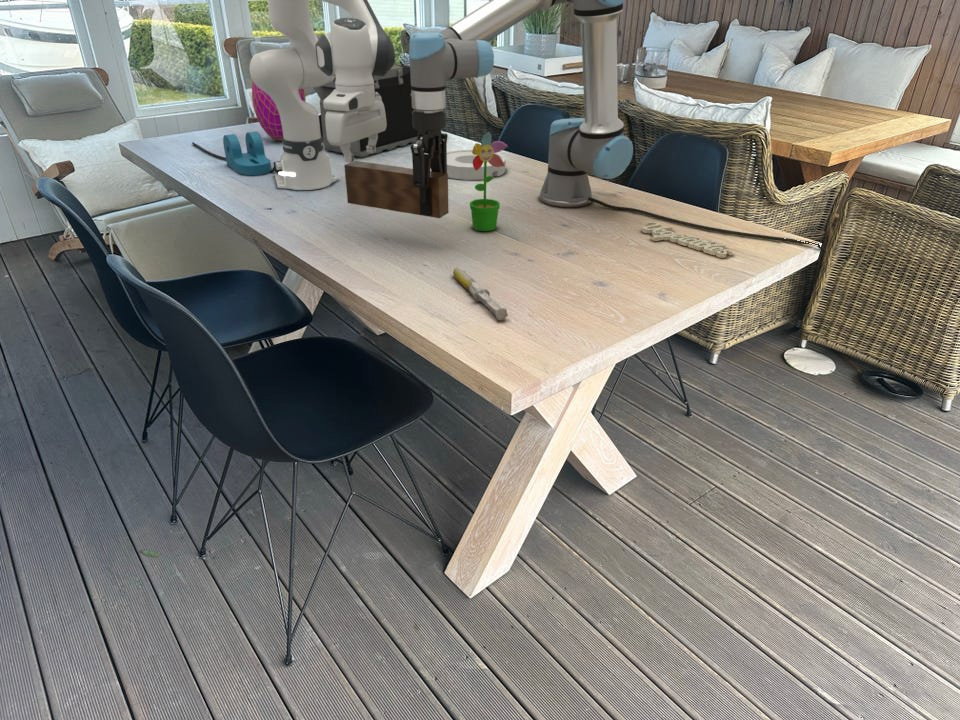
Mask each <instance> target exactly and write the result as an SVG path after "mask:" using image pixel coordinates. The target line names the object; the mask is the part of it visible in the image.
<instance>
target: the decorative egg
mask: <svg viewBox="0 0 960 720" xmlns="http://www.w3.org/2000/svg"><path fill="white" fill-rule="evenodd" d="M299 95H300V98H301V100H302V101H305V102H307V101H306V99H307V97H306V93H305V88H304V89H299ZM251 101H252V107H253V110H254V114H255V116H256V118H257V121H258V123H259V125H260V127H261V128H262V130H263V131H264V133H266V135H267V136H268V137H270V138H271V139H273V140H275V141H282V142H283V138H284V137H283V130H282V124H281V119H280V114H279V111H278V109H277V107H276V105H275V103H274V101H273V100H272V99H271V97H270V96H269V95H268V94H267V93H265V92H264V91H262V90H261V89H260V88H258V87H257V86H256V85H255V83H254V82H253V80H252V79H251Z"/></svg>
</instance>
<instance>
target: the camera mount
mask: <svg viewBox="0 0 960 720" xmlns="http://www.w3.org/2000/svg"><path fill="white" fill-rule="evenodd" d="M222 140H223V141H222V143H223V149H224V150H223V151H224V157H225V158H226V160H225V161H226V165H227V166H228V167H230V168H231V169H232V170H234V171H236V172H237V173H238V174H239V175H244V176H260V175H265V174H268V173H271V172H270V170H272V164H271V159H270V158H268V157H267V156H266V153H265V145H264V141H263V139H262V136H261V134H260V132H258V131H247V132H246V133H245V146H246V152H243V151H242V150H243V149H242V146H241V142H240V140H239V138H238V135H236V134H235V133H231V134H224V135H223V138H222Z"/></svg>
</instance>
